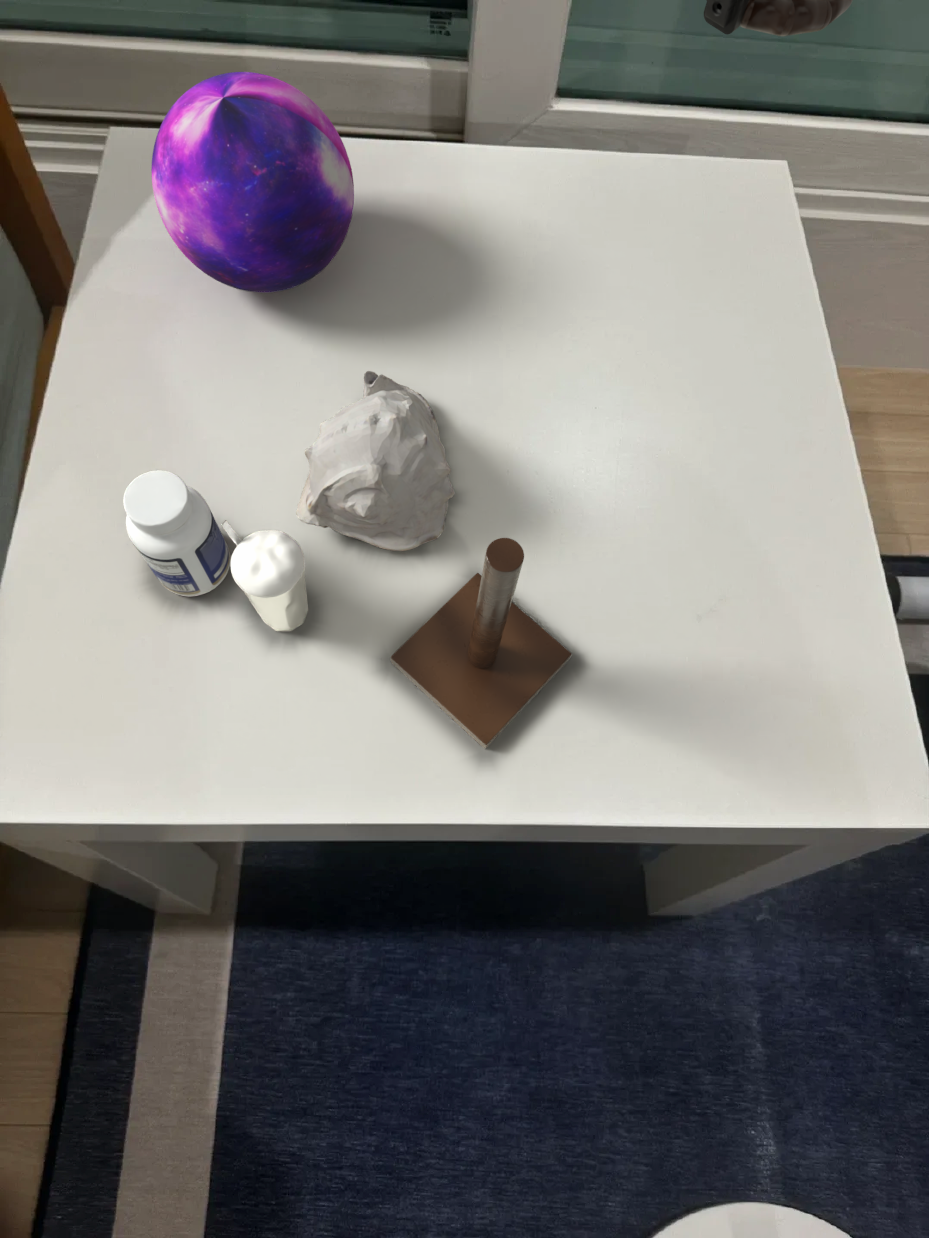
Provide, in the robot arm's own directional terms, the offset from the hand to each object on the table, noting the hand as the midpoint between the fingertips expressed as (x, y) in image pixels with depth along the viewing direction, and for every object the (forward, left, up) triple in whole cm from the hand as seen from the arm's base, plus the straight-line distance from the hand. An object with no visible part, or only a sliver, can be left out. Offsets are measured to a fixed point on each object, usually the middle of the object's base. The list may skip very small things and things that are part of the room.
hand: (732, 14), depth 51 cm
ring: (-4, 0, +1) cm, 4 cm away
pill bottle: (+42, -8, -24) cm, 49 cm away
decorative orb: (+19, -25, -24) cm, 40 cm away
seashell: (+28, -4, -24) cm, 37 cm away
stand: (+33, +12, -24) cm, 43 cm away
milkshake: (+40, -1, -24) cm, 47 cm away
